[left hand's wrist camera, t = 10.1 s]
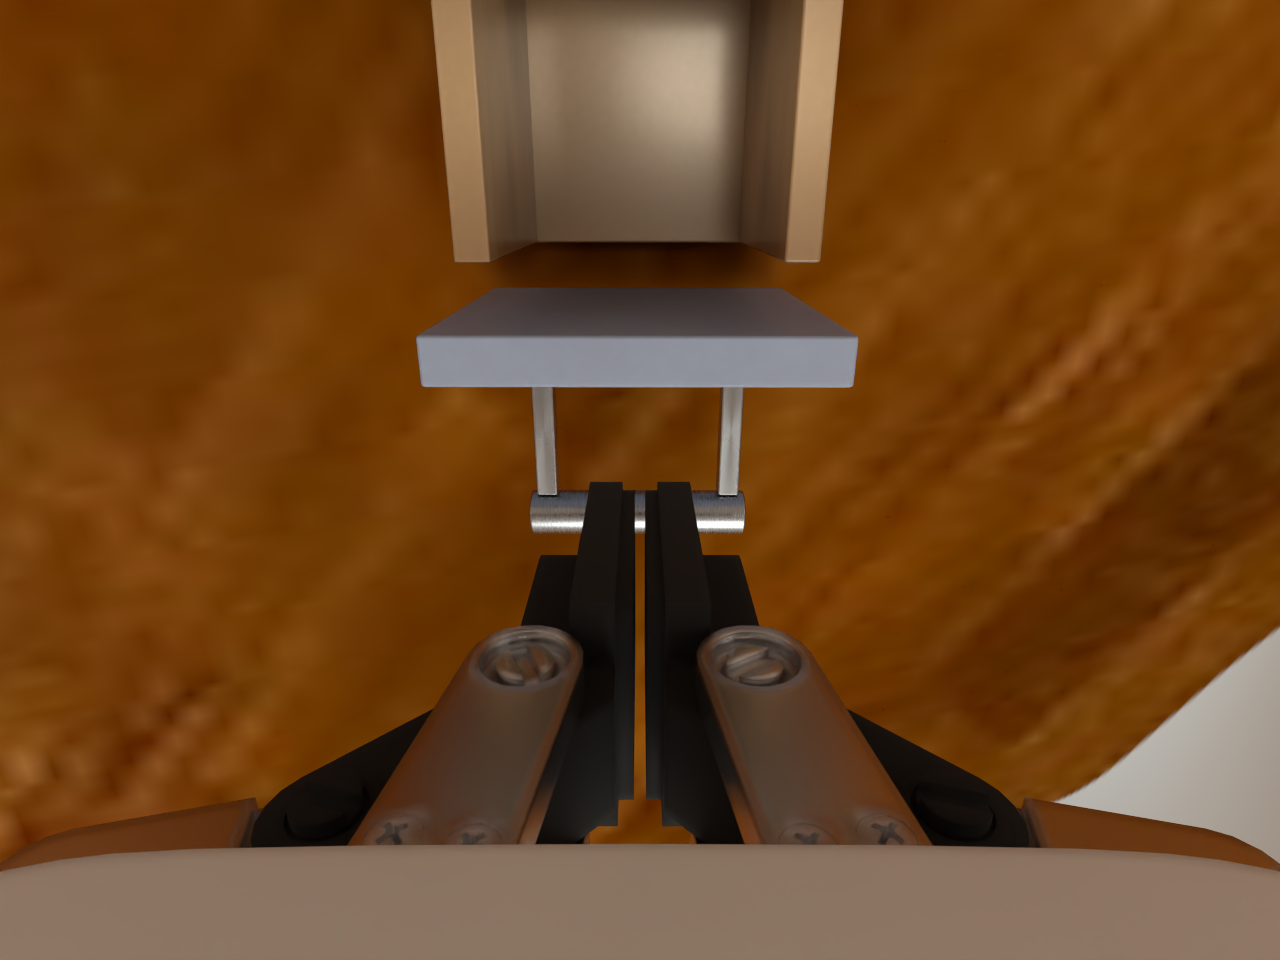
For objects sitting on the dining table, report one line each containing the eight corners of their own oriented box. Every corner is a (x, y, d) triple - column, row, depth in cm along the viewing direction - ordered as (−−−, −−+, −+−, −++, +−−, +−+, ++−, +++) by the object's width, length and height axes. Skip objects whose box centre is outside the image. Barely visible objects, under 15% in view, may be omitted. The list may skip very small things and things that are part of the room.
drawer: (769, 465, 27) (831, 590, 18) (506, 464, 27) (443, 590, 18) (831, -386, 19) (1000, -902, 10) (445, -386, 19) (273, -904, 10)
